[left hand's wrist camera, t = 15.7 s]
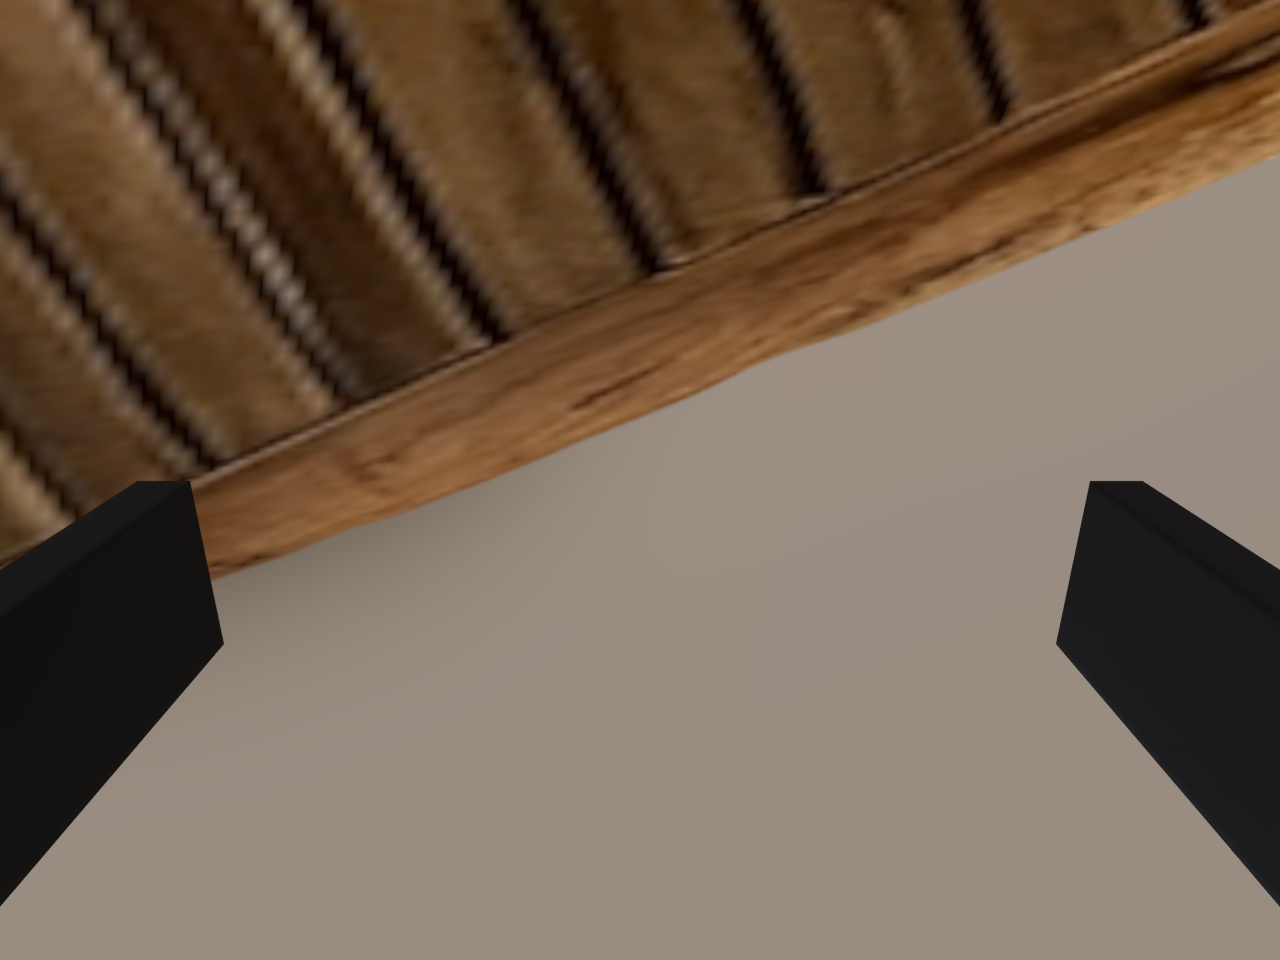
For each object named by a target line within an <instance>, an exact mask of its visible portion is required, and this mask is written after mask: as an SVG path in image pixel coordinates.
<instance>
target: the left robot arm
mask: <svg viewBox="0 0 1280 960" xmlns="http://www.w3.org/2000/svg"><path fill="white" fill-rule="evenodd" d="M1056 644H1057V646H1058V647H1059V648H1060V649H1061V650H1062V652H1063V653H1064V654H1065V655H1066V656H1067V657H1068V659H1069V660H1070V661H1071V662H1072V663H1073V664H1074V666H1075V667H1076V668H1077V669H1078V670H1079V671H1080V673H1081V674H1082V675H1083V676H1084V677H1085V679H1086V680H1087V681H1088V682H1089V683H1090V684H1091V686H1092V687H1093V688H1094V689H1095V690H1096V691H1097V693H1098V694H1099V695H1100V696H1101V697H1102V698H1103V700H1104V701H1105V702H1106V703H1107V704H1108V706H1109V707H1110V708H1111V709H1112V710H1113V711H1114V713H1115V714H1116V715H1117V716H1118V717H1119V718H1120V720H1121V721H1122V722H1123V723H1124V724H1125V725H1126V727H1127V728H1128V729H1129V730H1130V731H1131V733H1132V734H1133V735H1134V736H1135V737H1136V738H1137V739H1138V741H1139V742H1140V743H1141V744H1142V745H1143V747H1144V748H1145V749H1146V750H1147V751H1148V752H1149V754H1150V755H1151V756H1152V757H1153V758H1154V759H1155V761H1156V762H1157V763H1158V764H1159V765H1160V767H1161V768H1162V769H1163V770H1164V771H1165V772H1166V774H1167V775H1168V776H1169V777H1170V778H1171V779H1172V781H1173V782H1174V783H1175V784H1176V785H1177V786H1178V788H1179V789H1180V790H1181V791H1182V792H1183V794H1184V795H1185V796H1186V797H1187V798H1188V799H1189V800H1190V802H1191V803H1192V804H1193V805H1194V806H1195V808H1196V809H1197V810H1198V811H1199V812H1200V813H1201V815H1202V816H1203V817H1204V818H1205V819H1206V820H1207V822H1208V823H1209V824H1210V825H1211V826H1212V828H1213V829H1214V830H1215V831H1216V832H1217V833H1218V835H1219V836H1220V837H1221V838H1222V839H1223V840H1224V842H1225V843H1226V844H1227V845H1228V846H1229V847H1230V849H1231V850H1232V851H1233V852H1234V853H1235V855H1236V856H1237V857H1238V858H1239V859H1240V860H1241V862H1242V863H1243V864H1244V865H1245V866H1246V867H1247V869H1248V870H1249V871H1250V872H1251V873H1252V874H1253V876H1254V877H1255V878H1256V879H1257V880H1258V882H1259V883H1260V884H1261V885H1262V886H1263V887H1264V889H1265V890H1266V891H1267V892H1268V893H1269V894H1270V896H1271V897H1272V898H1273V899H1274V900H1275V901H1276V903H1277V904H1278V905H1279V906H1280V570H1279V569H1278V568H1276V567H1275V566H1273V565H1272V564H1270V563H1268V562H1267V561H1265V560H1264V559H1262V558H1261V557H1259V556H1258V555H1256V554H1255V553H1253V552H1251V551H1250V550H1248V549H1247V548H1245V547H1244V546H1242V545H1241V544H1239V543H1238V542H1236V541H1234V540H1233V539H1231V538H1230V537H1228V536H1227V535H1225V534H1224V533H1222V532H1220V531H1219V530H1217V529H1216V528H1214V527H1213V526H1211V525H1210V524H1208V523H1207V522H1205V521H1204V520H1202V519H1200V518H1199V517H1197V516H1196V515H1194V514H1193V513H1191V512H1190V511H1188V510H1186V509H1185V508H1183V507H1182V506H1180V505H1179V504H1177V503H1176V502H1174V501H1173V500H1171V499H1169V498H1168V497H1166V496H1165V495H1163V494H1162V493H1160V492H1159V491H1157V490H1156V489H1154V488H1153V487H1151V486H1149V485H1148V484H1146V483H1145V482H1143V481H1090V484H1089V489H1088V494H1087V498H1086V503H1085V508H1084V513H1083V518H1082V522H1081V527H1080V532H1079V537H1078V542H1077V546H1076V551H1075V556H1074V561H1073V565H1072V570H1071V575H1070V580H1069V585H1068V590H1067V594H1066V599H1065V604H1064V609H1063V613H1062V618H1061V623H1060V628H1059V632H1058V637H1057V642H1056ZM223 645H224V642H223V637H222V633H221V628H220V623H219V618H218V613H217V609H216V604H215V599H214V594H213V589H212V585H211V580H210V575H209V570H208V565H207V561H206V556H205V551H204V546H203V542H202V537H201V532H200V527H199V522H198V518H197V513H196V508H195V503H194V498H193V494H192V489H191V484H190V481H137V482H135V483H134V484H132V485H131V486H129V487H127V488H126V489H124V490H123V491H121V492H120V493H118V494H117V495H115V496H114V497H112V498H110V499H109V500H107V501H106V502H104V503H103V504H101V505H100V506H98V507H97V508H95V509H93V510H92V511H90V512H89V513H87V514H86V515H84V516H83V517H81V518H80V519H78V520H76V521H75V522H73V523H72V524H70V525H69V526H67V527H66V528H64V529H63V530H61V531H59V532H58V533H56V534H55V535H53V536H52V537H50V538H49V539H47V540H46V541H44V542H42V543H41V544H39V545H38V546H36V547H35V548H33V549H32V550H30V551H29V552H27V553H25V554H24V555H22V556H21V557H19V558H18V559H16V560H15V561H13V562H12V563H10V564H8V565H7V566H5V567H4V568H2V569H1V570H0V906H1V905H2V904H3V903H4V901H5V900H6V899H7V898H8V897H9V896H10V894H11V893H12V892H13V891H14V890H15V889H16V887H17V886H18V885H19V884H20V883H21V881H22V880H23V879H24V878H25V877H26V876H27V874H28V873H29V872H30V871H31V870H32V869H33V867H34V866H35V865H36V864H37V863H38V862H39V860H40V859H41V858H42V857H43V856H44V855H45V853H46V852H47V851H48V850H49V849H50V847H51V846H52V845H53V844H54V843H55V842H56V840H57V839H58V838H59V837H60V836H61V835H62V833H63V832H64V831H65V830H66V829H67V827H68V826H69V825H70V824H71V823H72V822H73V820H74V819H75V818H76V817H77V816H78V815H79V813H80V812H81V811H82V810H83V809H84V808H85V806H86V805H87V804H88V803H89V802H90V800H91V799H92V798H93V797H94V796H95V795H96V794H97V792H98V791H99V790H100V789H101V788H102V786H103V785H104V784H105V783H106V782H107V781H108V779H109V778H110V777H111V776H112V775H113V774H114V772H115V771H116V770H117V769H118V768H119V767H120V765H121V764H122V763H123V762H124V761H125V759H126V758H127V757H128V756H129V755H130V754H131V752H132V751H133V750H134V749H135V748H136V747H137V745H138V744H139V743H140V742H141V741H142V740H143V738H144V737H145V736H146V735H147V734H148V732H149V731H150V730H151V729H152V728H153V727H154V725H155V724H156V723H157V722H158V721H159V720H160V718H161V717H162V716H163V715H164V714H165V713H166V711H167V710H168V709H169V708H170V707H171V706H172V704H173V703H174V702H175V701H176V700H177V698H178V697H179V696H180V695H181V694H182V693H183V691H184V690H185V689H186V688H187V687H188V685H189V684H190V683H191V682H192V681H193V680H194V678H195V677H196V676H197V675H198V674H199V673H200V671H201V670H202V669H203V668H204V667H205V666H206V664H207V663H208V662H209V661H210V660H211V659H212V657H213V656H214V655H215V654H216V653H217V652H218V650H219V649H220V648H221V647H222V646H223Z"/></svg>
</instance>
